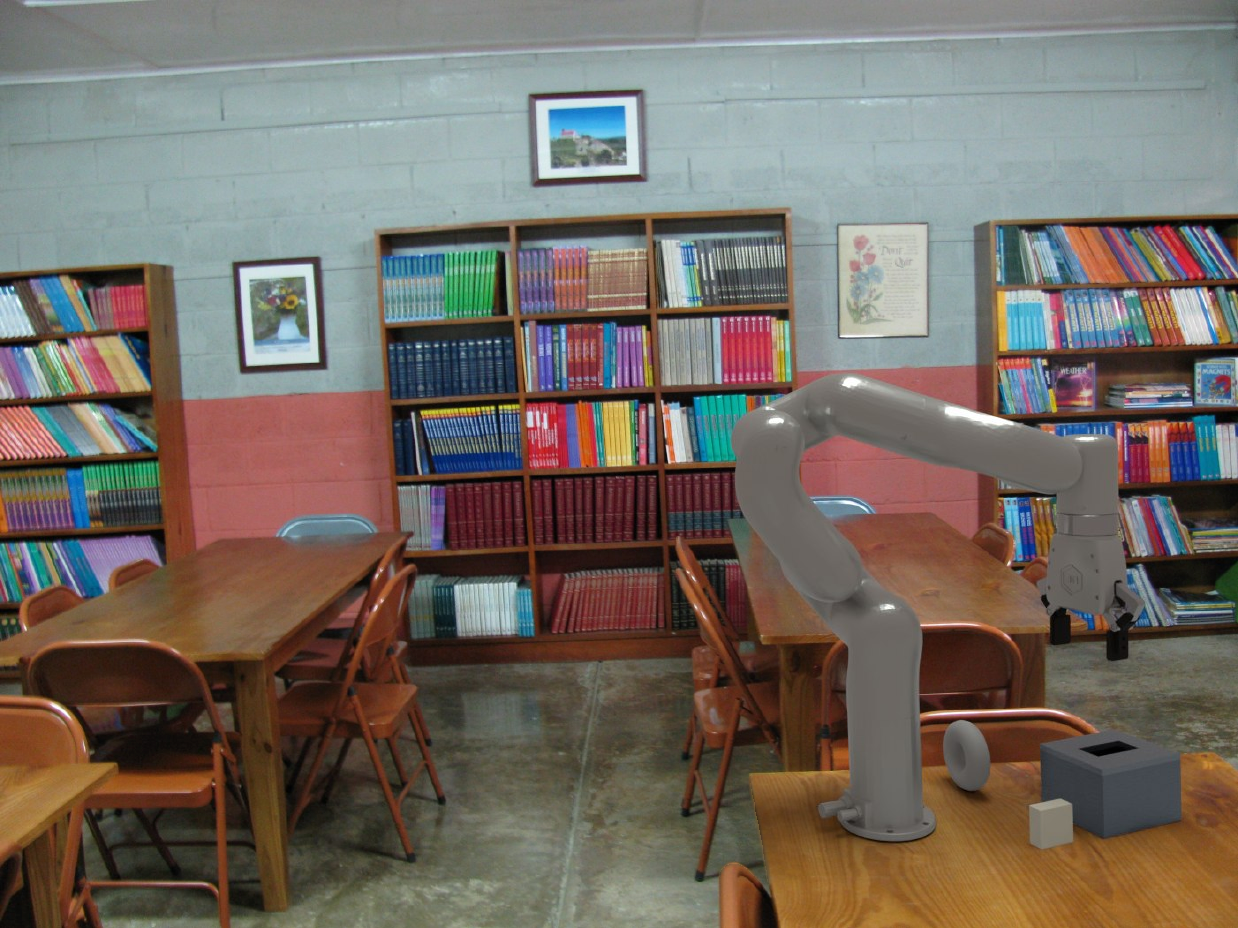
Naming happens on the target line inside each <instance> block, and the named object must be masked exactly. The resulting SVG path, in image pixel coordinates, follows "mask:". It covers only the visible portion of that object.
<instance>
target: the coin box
mask: <svg viewBox="0 0 1238 928" xmlns="http://www.w3.org/2000/svg"><path fill="white" fill-rule="evenodd" d="M1039 755H1040V757H1039V758H1040V762H1039V763H1040V790H1041V791H1040V792H1041V803H1042V802H1046V801H1051V800H1056V799H1060V798H1061V799H1063V800H1065V801H1067V802H1069V803H1071V804H1072V816H1073V825H1076V826H1078V827H1079V828H1080V829H1081V828H1082V829H1083V830H1086V831H1087V832H1089V833H1091V834H1093V835H1096V836H1098V837H1099V838H1102V839H1105V840H1106V839H1110V838H1113V837H1116V836H1121V835H1126V834H1130V833H1135V832H1138V831H1142V830H1147V829H1151V828H1154V827H1155V828H1156V827H1159V826H1162V825H1168V824H1171V823H1175V822H1181V821H1183V819H1182V818H1183V817H1182V816H1183V815H1182V775H1181V773H1182V771H1181V769H1182V768H1181V767H1182V766H1181V753H1180V752H1178V751H1175V750H1172V749H1170V748H1166V747H1164V746H1161V745H1160V744H1159V745H1158V744H1156V743H1152V742H1151V741H1148V740H1144V739H1142V738H1139V737H1136V736H1133V735H1130V734H1128V733H1125V732H1124V731H1123V732H1122V731H1120V730H1117V729H1109V730H1105V731H1104V730H1103V731H1100V732H1099V731H1098V732H1093V733H1089V734H1083V735H1078V736H1074V737H1068V738H1064V739H1058V740H1051V741H1048V742H1043V743H1039Z"/></svg>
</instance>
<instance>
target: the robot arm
mask: <svg viewBox="0 0 1238 928" xmlns="http://www.w3.org/2000/svg"><path fill="white" fill-rule="evenodd" d="M836 436H840V437H844V438H846V439H849V440H852V441H856V442H859V443H862V444H865V445H869V446H872V447H876V448H878V449H882V450H885V451H887V452H890V453H895V454H898V455H901V456H904V457H907V458H910V459H913V460H917V461H919V462H923V463H928V464H931V465H935V466H938V467H944V468H952V469H959V470H964V471H965V470H966V471H968V472H973V473H974V472H975V473H978V474H981V475H985V476H989V477H993V478H996V479H999V480H1000V481H1001V483H1003V484H1004V485H1006V486H1009V487H1010V488H1013V489H1017V490H1022V491H1028V492H1035V493H1039V494H1044V495H1056V515H1054V519H1053V520H1054V522H1055V524H1056V533H1053V534H1052V538H1051V542H1050V544H1049V550H1048V551H1049V552H1048V556H1047V557H1048V559H1047V570H1046V576H1045V577H1043V578H1041V579H1039V580H1037V581H1036V587H1037V590H1038V592H1039V595H1040V600H1041V603H1042V604H1043V606H1044V607H1045V613H1046V615H1047V616H1048V617H1049V643H1050V645H1051V646H1061V645H1068V644H1070V643H1071V641H1072V619H1071V615H1070V614H1067V613H1068V612H1069V610H1071V611H1075V612H1079V613H1083V614H1088V615H1094V616H1096V615H1097V616H1099V615H1102V618H1103V619H1104V620H1105V622H1106V623H1107V625H1108V627H1109V628H1110V629H1108V630H1106V633H1105V639H1106V641H1105V642H1106V644H1105V645H1106V646H1105V648H1106V652H1105V653H1106V656H1105V657H1106V659H1107V661H1110V662H1117V661H1122V660H1127V659H1128V658H1129V630H1133V629H1134V625H1135V624H1136V623H1137V622H1138V621H1139V620H1140V618H1141V614H1142V612H1143V609H1144V608H1145V606H1146V601H1145V600H1144V599H1143V598H1141V596H1139V595H1138V594H1137V593H1135V591H1133V590H1132V589H1130V588H1129V587H1128V574H1127V573H1128V571H1127V563H1126V556H1125V549H1124V545H1123V541H1122V538H1120V537H1119V447H1118V446H1119V444H1118V441H1117V439H1116V438H1115V437H1113V436H1112V435H1110V434H1103V433H1102V434H1100V433H1087V434H1086V433H1085V434H1084V433H1082V434H1081V433H1080V434H1068V435H1067V434H1066V435H1064V436H1060V435H1057V434H1054V433H1051V432H1048V431H1044V430H1041V429H1039V428H1035V427H1032V426H1029V425H1026V424H1023V423H1019V422H1016V421H1012V420H1010V419H1005V418H1003V417H1002V418H1001V417H999V416H994V415H991V414H989V413H984V412H981V411H978V410H974V409H972V408H968V407H966V406H962V405H959V404H957V403H954V402H953V403H952V402H949V401H945V400H942V399H939V398H937V397H936V398H935V397H932V396H930V395H926V394H922V393H920V392H917V391H916V392H915V391H913V390H910V389H907V388H903V387H900V386H898V385H895V384H891V383H890V382H889V383H888V382H885V381H882V380H879V379H875V378H874V377H869V376H866V375H863V374H859V373H854V372H841V373H834V374H833V373H831V374H827V375H825V376H822V377H820V378H818V379H815V380H814V381H812V382H810V383H808V384H806V385H803V386H802V387H799V388H798V389H796V390H794V391H792V392H789V393H787V394H785V395H782V396H779V397H778V398H777V399H775V400H772V401H770V402H768V403H765V404H763V405H761V406H758V407H757V408H754V409H753V410H751V411H749V412H746V413H744V414H743V416H741V417H740V418H739V419H738V420H737V422H736V423H735V424H734V427H733V428H732V431H731V436H730V446H731V449H732V452H733V454H734V456H735V458H736V459H737V460H736V466H735V469H734V470H735V471H734V486H735V488H734V489H735V495H736V499H737V502H738V505H739V509H740V510H741V513H742V514H743V517H744V518H745V519H746V521H747V522H748V524H749V525H750V527H751V528H752V529H753V530H754V532H755V533H756V535H757V536H758V537H759V538H760V539H761V541H762V542H763V543H764V544H765V546H766V547H767V548H768V549H769V550H770V552H771V553H772V555H774V557H775V558H776V559H777V560H778V561H779V565H780V568H781V571H782V573H783V576H784V577H785V578H786V579H785V580H787V581H788V583H789V584H790V585H791V586H792V588H794V590H795V591H796V592H797V593H798V595H800V596H801V598H802V599H803V600H804V601H805V603H807V605H809V606H810V608H811V609H812V610H813V611H814V612H815V614H816V615H817V616H818V617H819V618H820V619H821V621H823V622H824V624H826V626H827V627H828V628H829V629H830V630H831V631H832V633H834V634H835V635H836V637H838V639H839V640H841V642H843V643H844V645H846V646H847V649H848V656H847V658H848V661H847V671H846V679H845V681H846V682H845V685H846V686H845V695H846V697H845V699H846V701H845V703H846V711H847V713H846V714H847V717H846V718H847V736H848V737H847V738H848V739H847V742H848V767H849V768H848V769H849V770H848V771H849V787H847V788H843V789H842V795H843V796H840V797H839V798H838V799H837V800H834V801H833V800H830V801H826V802H821V803H819V804H818V806H817V808H818V809H817V810H818V814H819V815H820V817H821V818H822V819H826V818H832V817H835V816H836V817H837V819H838V821H839V822H840V824H841V825H842V827H843V828H844V829H845V830H847V831H849V832H850V833H852V834H855V835H857V836H858V837H862V838H865V839H870V840H874V841H883V842H905V841H913V840H916V839H921V838H923V837H926V836H927V835H929V834H931V833H932V832H933V831H934V830H935V829H936V826H937V825H936V819H937V818H936V815H935V813H934V812H933V810H931V809H930V808H929V807H928V806H926V805H924V798H923V796H924V795H923V794H924V793H923V768H922V763H923V762H922V761H923V760H922V741H921V739H922V737H921V710H920V668H921V667H920V666H921V659H922V649H923V632H922V631H923V629H922V626H921V622H920V620H919V617H918V615H917V613H916V612H915V610H914V608H913V607H912V606H911V605H910V604H909V603H908V602H907V601H906V600H905V599H903V598H902V597H900V596H898V595H897V594H895V593H893V592H892V591H890V590H888V589H886V588H884V587H883V586H882V585H881V584H879V583H878V581H877V580H876V579H875V578H874V577H873V576H872V575H871V573H870V572H869V571H868V570H867V569H866V568H865V567H864V565H863V562H862V561H863V560H862V558H861V555H860V553H859V552H858V550H857V548H856V547H855V545H854V544H853V543H852V542H851V541H850V540H849V539H848V538H847V537H845V536H844V535H843V534H842V533H841V532H840V531H839V530H838V529H837V528H836V526H835V525H834V524H833V523H832V522H831V520H829V519H828V517H826V515H825V514H824V513H823V512H822V511H821V509H820V508H819V507H818V505H816V503H815V502H814V501H813V499H812V498H811V497H810V496H809V494H808V493H807V492H806V490H805V488H804V487H803V485H802V482H801V478H800V465H801V462H802V458H803V455H804V452H806V451H808V450H810V449H813V448H814V447H817V446H818V445H821V444H823V443H825V442H826V441H828V440H830V439H832V438H834V437H836ZM1116 617H1117V618H1116Z"/></svg>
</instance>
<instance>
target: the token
mask: <svg viewBox="0 0 1238 928" xmlns="http://www.w3.org/2000/svg"><path fill="white" fill-rule="evenodd" d="M1028 810H1029V811H1028V812H1029V813H1028V815H1029V844H1031V845H1032V846H1034V847H1036V848H1038V849H1039V850H1046V849H1050V848H1054V847H1055V848H1056V847H1058V846H1063V845H1067V844H1070V843H1072V844H1073V843H1074V828H1073V826H1074V824H1073V816H1072V804H1071V803H1069V802H1067V801H1065V800H1063V799H1061V798H1060V799H1056V800H1051V801H1046V802H1042V801H1041V802H1039V803H1033V804H1030V805H1028Z"/></svg>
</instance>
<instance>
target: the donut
mask: <svg viewBox="0 0 1238 928" xmlns="http://www.w3.org/2000/svg"><path fill="white" fill-rule="evenodd" d="M944 732H945V733H944V736H943V743H942V749H943V750H942V751H943V759H944V763H945V766H946V768H947V771H948V773H949V776H950V778H951V779H952V781H953V782H954V783H955V784H956V785H957V786H958V787H959V788H960V789H963V790H965V791H968V792H975V791H978V790H981V789H983V787H984V786H985V785H987V782H988V780H989V777H990V774H991V755H990V750H989V747H988V744H987V741H986V739H985V737H984V735H983V733H982V731H981V730H980V729H979V728H978V727H977V726H976V725H974V723H973V722H971V721H967V720H964V719H959V720H956V721H953V722H952V723H950V724H949V726H948V727H947V728H946V730H945V731H944Z"/></svg>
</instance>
